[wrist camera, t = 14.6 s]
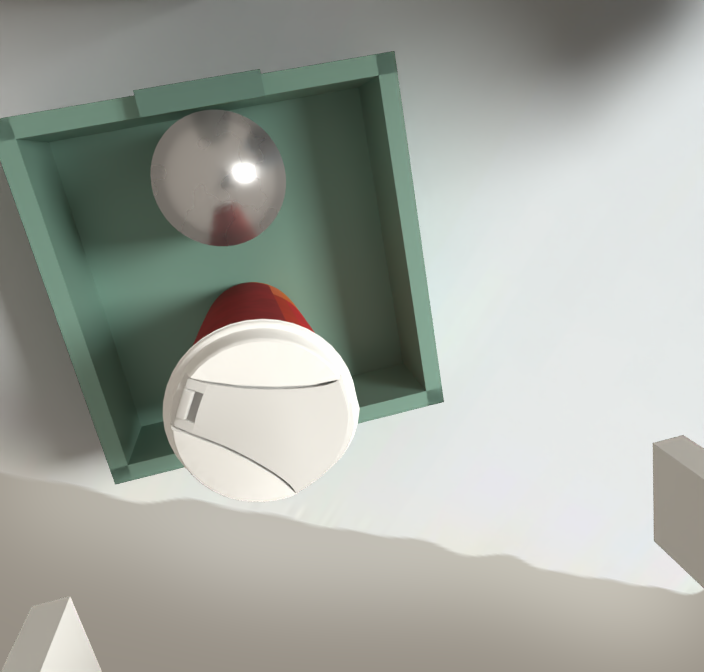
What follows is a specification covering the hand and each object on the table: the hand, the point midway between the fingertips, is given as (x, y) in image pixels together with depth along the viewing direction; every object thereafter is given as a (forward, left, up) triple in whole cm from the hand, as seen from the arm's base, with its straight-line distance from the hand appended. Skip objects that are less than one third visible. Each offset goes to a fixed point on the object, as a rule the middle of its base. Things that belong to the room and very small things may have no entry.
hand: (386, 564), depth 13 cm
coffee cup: (+1, -2, -27) cm, 27 cm away
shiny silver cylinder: (-8, -2, -27) cm, 28 cm away
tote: (-3, -2, -27) cm, 27 cm away
